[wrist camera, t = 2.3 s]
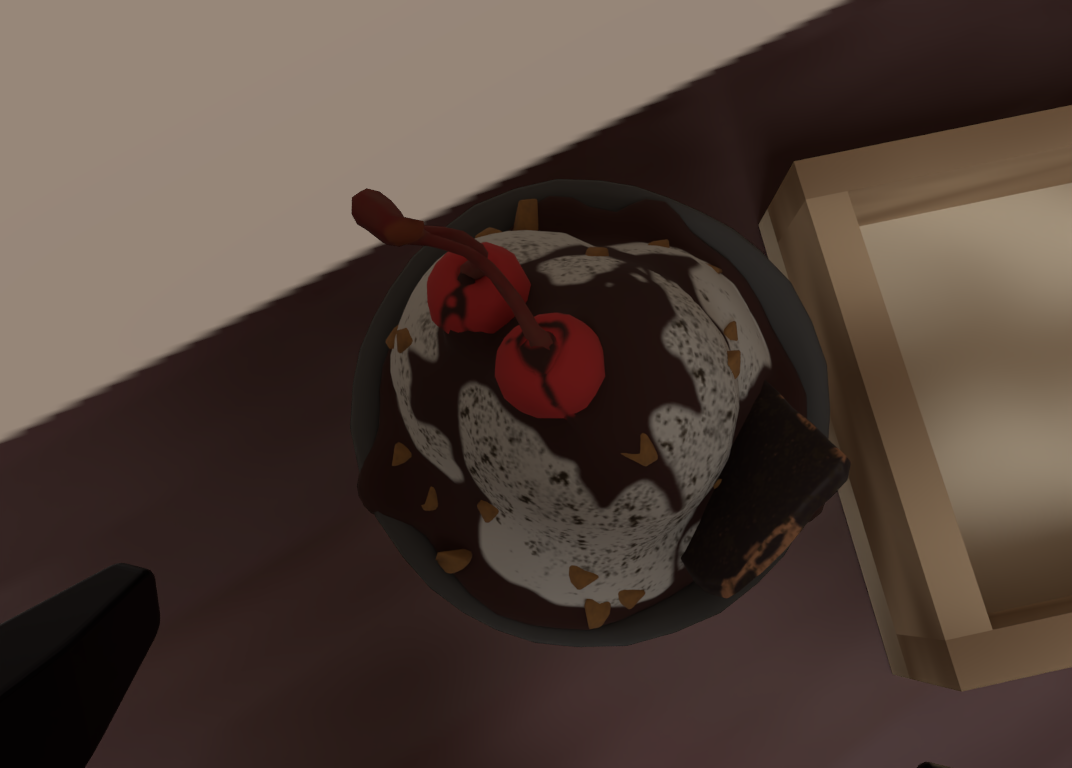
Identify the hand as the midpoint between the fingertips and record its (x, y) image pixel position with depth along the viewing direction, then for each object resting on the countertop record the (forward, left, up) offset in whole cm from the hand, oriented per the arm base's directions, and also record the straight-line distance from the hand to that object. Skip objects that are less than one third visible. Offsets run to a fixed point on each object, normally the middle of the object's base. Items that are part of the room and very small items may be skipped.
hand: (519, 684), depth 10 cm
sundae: (+4, -1, -11) cm, 12 cm away
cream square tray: (+5, -14, -11) cm, 18 cm away
